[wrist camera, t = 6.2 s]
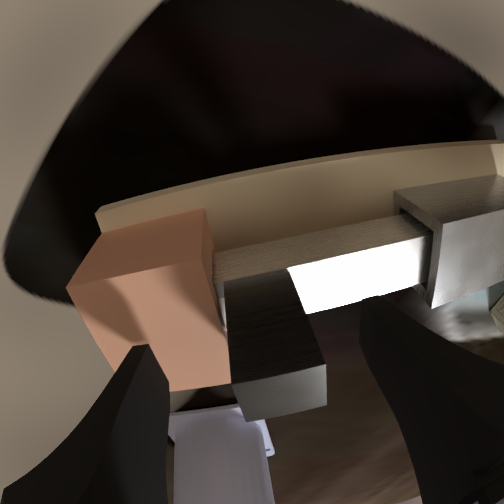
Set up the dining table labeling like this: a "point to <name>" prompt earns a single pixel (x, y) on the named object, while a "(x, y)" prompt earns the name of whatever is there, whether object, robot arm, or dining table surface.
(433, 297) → the grey sleeve
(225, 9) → the dining table surface
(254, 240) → the birch board
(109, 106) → the dining table surface
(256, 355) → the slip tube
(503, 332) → the skincare box
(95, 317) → the socket block
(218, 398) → the dining table surface
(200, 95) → the dining table surface
